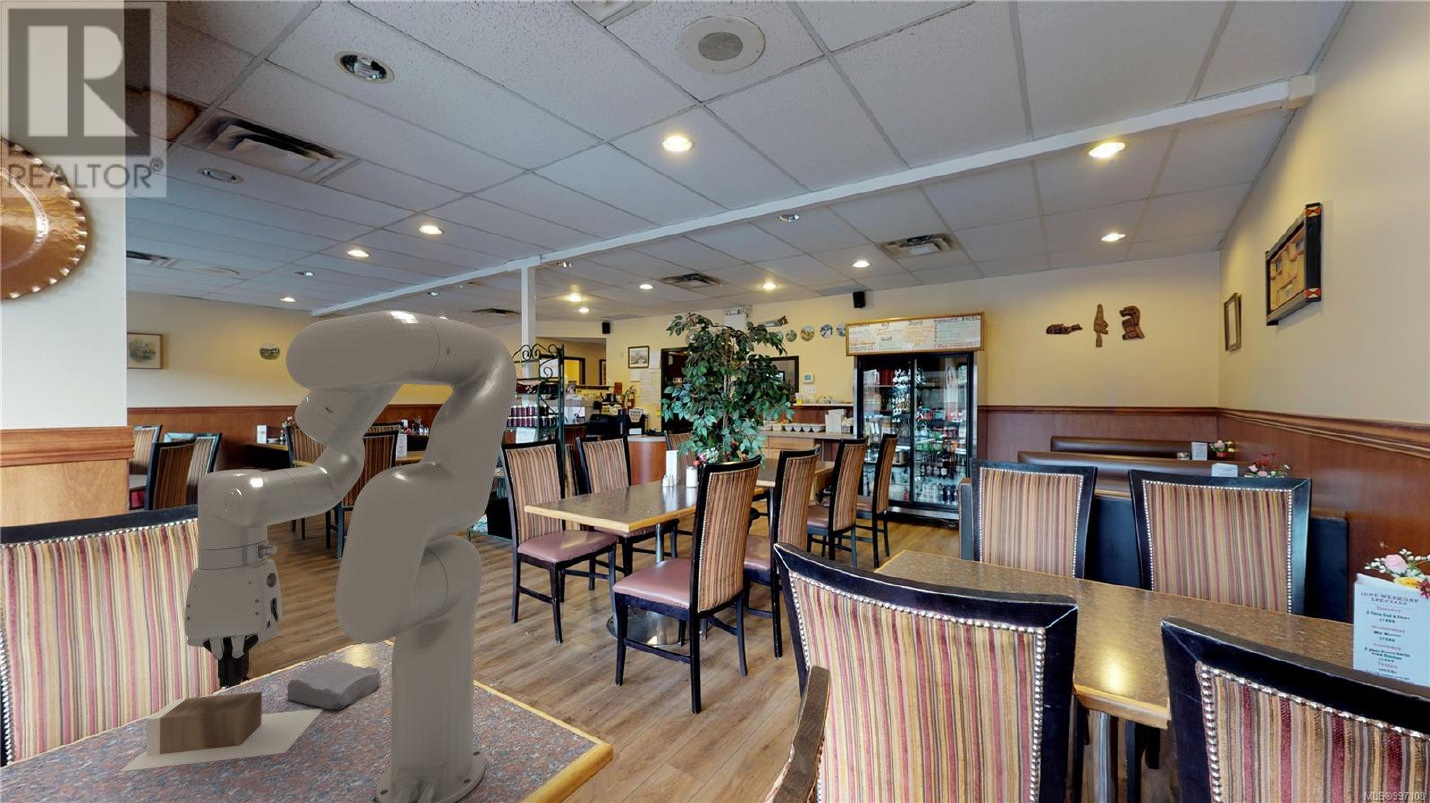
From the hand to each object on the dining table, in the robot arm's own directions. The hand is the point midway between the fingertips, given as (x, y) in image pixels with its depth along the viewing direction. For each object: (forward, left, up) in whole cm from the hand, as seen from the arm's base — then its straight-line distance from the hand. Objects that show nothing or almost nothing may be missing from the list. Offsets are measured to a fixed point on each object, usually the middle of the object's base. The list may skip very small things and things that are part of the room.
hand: (233, 681), depth 78 cm
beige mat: (0, 0, -9) cm, 8 cm away
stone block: (+11, -9, -9) cm, 16 cm away
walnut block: (0, -2, -6) cm, 6 cm away
